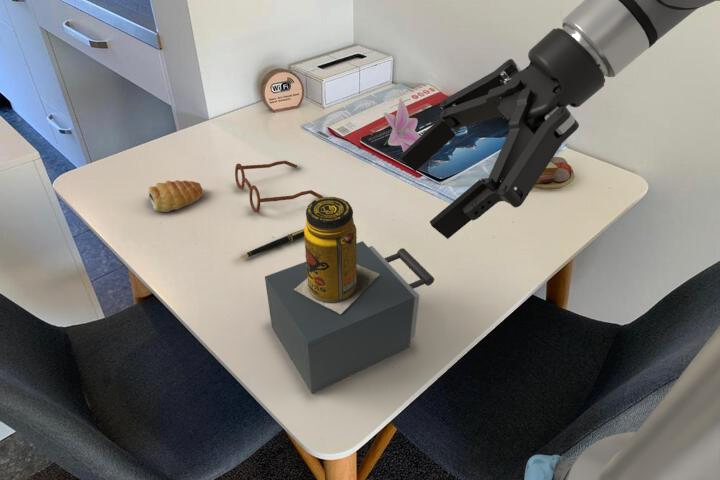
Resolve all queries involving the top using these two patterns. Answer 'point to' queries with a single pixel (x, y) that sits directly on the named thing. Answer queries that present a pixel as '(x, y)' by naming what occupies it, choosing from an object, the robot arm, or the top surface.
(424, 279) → the drawer
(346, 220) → the condiment
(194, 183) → the pastry
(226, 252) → the top surface
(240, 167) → the glasses
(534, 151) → the robot arm
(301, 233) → the fountain pen
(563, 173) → the toy sandwich meal
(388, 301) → the cabinet
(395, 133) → the lily
